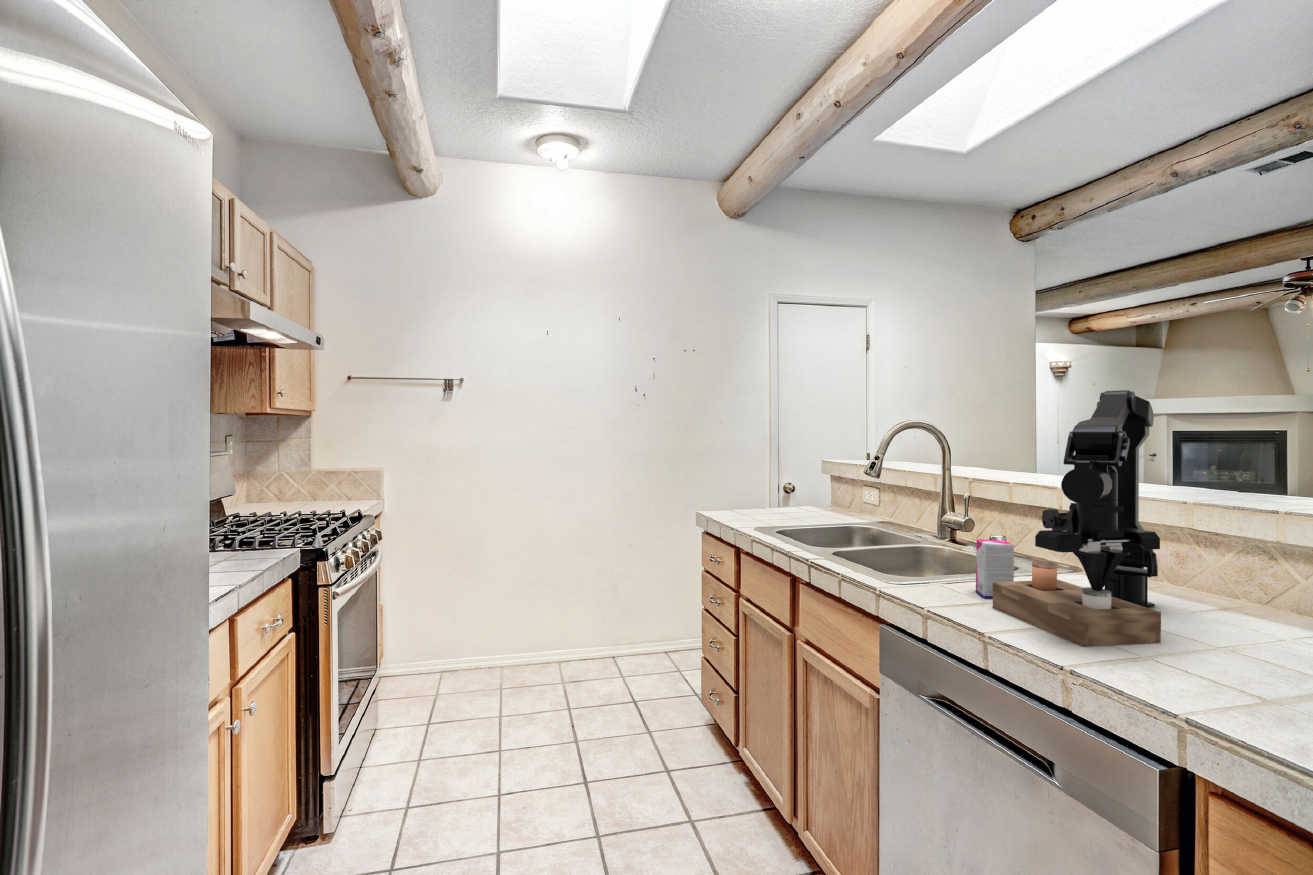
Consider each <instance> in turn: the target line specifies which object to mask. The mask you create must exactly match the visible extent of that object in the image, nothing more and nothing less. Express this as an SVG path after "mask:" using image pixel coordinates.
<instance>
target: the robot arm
mask: <svg viewBox="0 0 1313 875" xmlns="http://www.w3.org/2000/svg"><path fill="white" fill-rule="evenodd" d="M1153 426H1154V409H1153V407H1152V405H1151V402H1150V401H1149V400H1147V399H1144V398H1142V397H1139V396H1137V395H1136V393H1135V391H1133V390H1129V389H1126V390H1125V389H1124V390H1120V389H1119V390H1105V391H1103V392H1100V395H1099V401H1097V403H1096V408H1095V409H1094V411H1093V413H1092V415H1091V417H1090V418H1088V419H1085V420H1082V421H1079V422H1078V423H1077V424H1076V425H1074V426H1073V429H1072V431H1069V432H1068V436H1067V441H1066V442H1067V443H1066V447H1065V452H1064V457H1063V465H1067V466H1068V465H1069V466H1070V465H1072V466H1073V468H1074V469H1071V470H1069V471H1068V472H1067V473H1065V475H1064V476H1063V478H1062V480H1061V484H1060V486H1061V490H1062V492H1063V494H1064V495H1065V497H1066V498H1067V499H1068V500H1069V501H1072V502H1070V504H1069V508H1068V509H1069V510H1068V511H1067V512H1059V510H1058V509H1055V508H1054V509H1053V508H1052V509H1045V510H1042V515H1041V521H1042V526H1043V528H1044V529H1045V530H1039V531H1037V533H1036V534H1035V536H1034V542H1035V543H1034V546H1035V547H1038V548H1042V549H1044V550H1049V551H1053V552H1057V553H1073V555H1075V557H1076V558H1078V560H1079V562H1080V564H1081V566H1082V568H1083V570H1084V572H1085V575H1086V577H1087V580H1088V583H1089V585H1090V587H1091V588H1092V589H1093V590H1095V591H1101V590H1102V589H1106V590H1109V591H1111V596H1112V597H1115V598H1118V599H1121V600H1124V601H1127V602H1131V603H1134V604H1137V605H1140V606H1143V607H1146V608H1150V607H1151V608H1152V607H1156V604H1155V602H1154V603H1153V602H1150V601H1148V600H1149V599H1148V592H1149V591H1148V588H1149V587H1148V581H1149V580H1148V578H1152V577H1154V578H1155V577H1158V576H1159V569H1158V568H1159V567H1158V565H1159V564H1158V559H1157V554H1156V552H1155V551H1154V550H1160V549H1161V538H1160V536H1159V535H1158V534H1157V532H1155V531H1152V530H1146V529H1144V528H1143V527H1142V525H1141V524H1140V522H1139V517H1140V516H1139V512H1140V511H1139V509H1140V507H1139V506H1140V504H1139V500H1140V498H1139V497H1140V496H1139V495H1140V494H1139V493H1140V492H1139V491H1140V490H1139V489H1140V485H1139V484H1140V483H1139V482H1140V448H1141V447H1142V445H1143V443H1145V441H1146V440H1147V438H1148V437H1149V435H1150V428H1152V427H1153ZM1046 529H1047V530H1046Z"/></svg>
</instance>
